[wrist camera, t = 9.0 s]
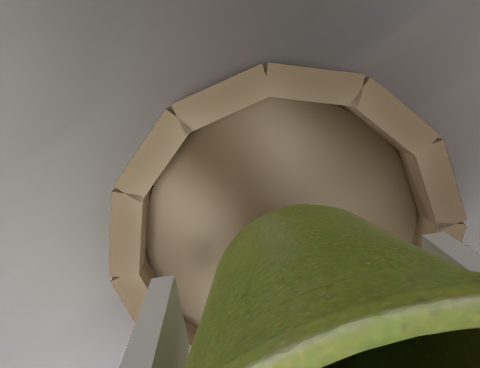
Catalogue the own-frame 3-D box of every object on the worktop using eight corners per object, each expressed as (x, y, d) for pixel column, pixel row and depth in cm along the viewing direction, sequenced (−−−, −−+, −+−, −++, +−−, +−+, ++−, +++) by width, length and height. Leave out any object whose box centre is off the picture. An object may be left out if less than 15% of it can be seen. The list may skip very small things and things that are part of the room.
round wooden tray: (249, -8, 15) (254, -22, 13) (498, 197, 18) (532, 211, 16) (62, 266, 17) (42, 289, 15) (304, 408, 20) (313, 442, 18)
